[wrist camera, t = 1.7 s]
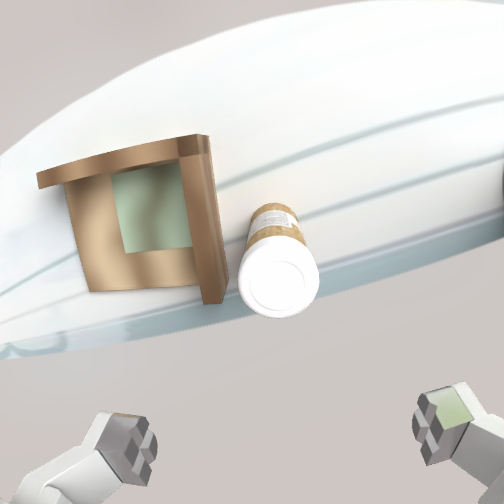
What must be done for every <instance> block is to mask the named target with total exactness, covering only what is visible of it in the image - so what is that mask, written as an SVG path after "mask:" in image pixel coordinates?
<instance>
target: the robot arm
mask: <svg viewBox="0 0 504 504" xmlns="http://www.w3.org/2000/svg"><path fill="white" fill-rule="evenodd" d="M417 403H418V405H419V408H418V409H417V410H416V411H415V412H414V415H413V419H412V428H413V433H414V436H415V439H416V440H417V441H419V442H420V443H422V448H421V453H422V456H423V458H424V461H425V463H426V466H429V465H432V464H436V463H439V462H442V461H445V460H448V459H451V461H452V462H454V463H455V464H457V465H458V466H459V467H461V468H462V469H463V470H465V471H466V472H468V473H469V474H470V475H472V476H473V477H474V478H476V479H477V480H479V481H480V482H481V483H483V484H484V485H486V486H487V487H488V489H487V490H486V492H485V493H484V494H483V495H482V496H481V497H480V499H479V501H478V504H504V419H502V418H500V417H498V416H496V415H494V414H492V413H491V414H487V413H486V411H485V410H484V408H483V407H482V405H481V404H480V402H479V401H478V399H477V398H476V396H475V395H474V394H473V392H472V391H471V389H470V388H469V386H468V385H467V384H466V383H465V382H460V383H457V384H454V385H451V386H447V387H443V388H440V389H436V390H433V391H430V392H426V393H422V394H421V395H420V396H419V398H418V402H417ZM148 426H149V423H148V421H147V419H146V417H143V416H136V415H128V414H120V413H112V412H105V411H101V412H99V413H98V414H97V416H96V418H95V419H94V421H93V423H92V424H91V426H90V428H89V430H88V432H87V434H86V436H85V437H84V439H83V441H82V443H81V445H80V446H77V445H76V446H74V447H73V448H71V449H69V450H68V451H66V452H64V453H63V454H61V455H59V456H58V457H56V458H54V459H53V460H51V461H49V462H48V463H46V464H44V465H43V466H41V467H39V468H37V469H36V470H34V471H32V472H30V473H29V474H27V475H25V477H24V479H23V481H22V482H21V484H20V486H19V487H18V489H17V491H16V493H15V495H14V496H13V498H12V500H11V502H10V503H9V502H7V501H5V500H3V499H1V498H0V504H101V503H102V502H103V501H104V500H106V499H107V498H108V497H109V496H110V495H111V494H112V493H113V492H115V491H116V490H117V489H118V488H119V487H120V486H121V485H122V483H126V484H133V485H139V486H147V484H148V481H149V478H150V474H151V471H152V470H151V468H150V466H149V464H150V463H151V462H153V461H154V460H155V458H156V455H157V440H156V437H155V435H154V433H153V432H151V431H150V430H149V429H148Z"/></svg>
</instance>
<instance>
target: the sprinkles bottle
mask: <svg viewBox="0 0 504 504" xmlns="http://www.w3.org/2000/svg"><path fill="white" fill-rule="evenodd" d="M318 287H319V273H318V269H317V266H316V263H315V260H314V258H313V256H312V254H311V252H310V251H309V250H308V249H307V247H306V243H305V240H304V237H303V234H302V231H301V228H300V226H299V224H298V220H297V217H296V215H295V213H294V212H293V211H292V210H291V209H290V208H289V207H287V206H285V205H282V204H279V203H269V204H266V205H263V206H262V207H260V208H259V209H258V210H257V211H256V212H255V213H254V215H253V217H252V220H251V225H250V231H249V235H248V239H247V244H246V249H245V254H244V256H243V258H242V260H241V264H240V267H239V273H238V289H239V292H240V295H241V297H242V299H243V301H244V302H245V303H246V305H247V306H248V307H249V308H250V309H251V310H253V311H254V312H256V313H257V314H259V315H262V316H264V317H268V318H275V319H280V318H288V317H291V316H294V315H297V314H299V313H300V312H302V311H303V310H304V309H306V308H307V307H308V306H309V305H310V304H311V302H312V301H313V300H314V298H315V296H316V294H317V291H318Z"/></svg>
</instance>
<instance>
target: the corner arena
mask: <svg viewBox="0 0 504 504" xmlns="http://www.w3.org/2000/svg"><path fill="white" fill-rule="evenodd" d="M36 175H37V181H38V187H39V189H43V188H46V187H50V186H53V185H57V184H61V183H64V187H65V192H66V198H67V203H68V208H69V213H70V218H71V222H72V227H73V231H74V235H75V240H76V244H77V248H78V252H79V256H80V259H81V263H82V267H83V270H84V274H85V277H86V281H87V284H88V287H89V291H90V292H91V291H110V290H127V289H143V288H158V287H173V286H187V285H200V289H201V294H202V299H203V304H204V305H205V304H220V303H222V301H223V297H224V294H225V290H226V287H227V283H228V280H229V278H228V271H227V265H226V258H225V251H224V245H223V238H222V231H221V224H220V217H219V210H218V203H217V196H216V188H215V181H214V173H213V166H212V158H211V151H210V143H209V136H206V135H200V134H193V135H187V136H182V137H176V138H171V139H165V140H160V141H155V142H150V143H146V144H141V145H136V146H132V147H128V148H123V149H119V150H115V151H111V152H107V153H103V154H99V155H95V156H92V157H88V158H84V159H81V160H77V161H74V162H70V163H67V164H63V165H60V166H57V167H54V168H50V169H47V170H44V171H41V172H38V173H36Z"/></svg>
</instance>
